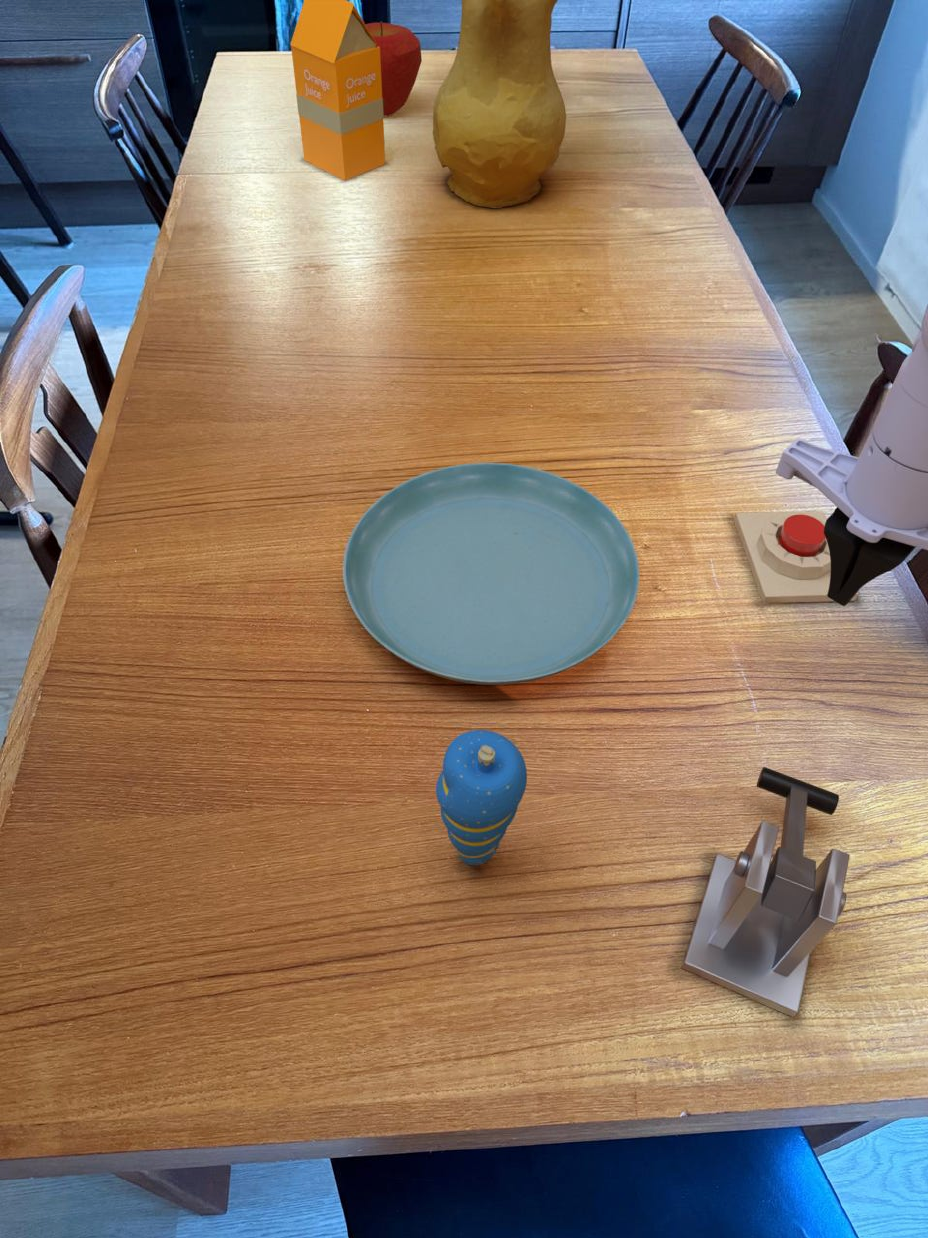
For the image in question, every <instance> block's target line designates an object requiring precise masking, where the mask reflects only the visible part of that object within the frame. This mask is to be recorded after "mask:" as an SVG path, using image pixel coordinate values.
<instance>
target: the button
mask: <svg viewBox="0 0 928 1238" xmlns="http://www.w3.org/2000/svg"><path fill="white" fill-rule="evenodd" d="M824 527H825V526H824V525H823V524H822V523H821V522H820V521H819V520H817V519H816V518H814V517H811V516H808V515H802V514H798V515H793V516H790V517H788V518H787V519H786V520H785V522H784V524H783V526H782V529H781V531H780V534H779V543H780V545H781V546H782V547H783V548H784V549H785V550H786V551H787V552H789V553H792V554H794V555H797V556H800V557H810V556H813V555H816V554H817V553H818V552H819V551H820V549H821V547H822V545H823V543H824V541H825V539H826V537H825V535H824Z"/></svg>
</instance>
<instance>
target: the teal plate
mask: <svg viewBox="0 0 928 1238" xmlns="http://www.w3.org/2000/svg"><path fill="white" fill-rule="evenodd" d="M347 540H348V541H347V543H346V546H345V550H344V553H343V560H342V561H343V562H342V579H343V586H344V590H345V594H346V596H347V597H346V598H347V599H348V602H349V605H350V607H351V609H352V611H353V613H354V614H355V616H356V618H357V619H358V621H359V622H360V623H361V625H362V627H364V630H366V631H367V632H368V633H369V634H370V635H371V637H372V638H373V639H374V640H375V641H377V642H378V644H380V645H381V646H382V647H383V648H384V649H386V650H387V651H388V652H389V653H391V654H392V655H394V656H395V657H396V658H398V659H399V660H401V661H403V662H405V663H407V664H408V665H409V666H413V667H414V668H416V669H419V670H420V671H423V672H425V673H428V674H431V675H433V676H436V677H439V678H443V679H446V680H451V681H454V682H458V683H459V682H460V683H466V684H472V685H481V686H483V685H484V686H500V685H501V686H503V685H515V684H516V685H517V684H525V683H530V682H534V681H537V680H538V681H539V680H544V679H546V678H549V677H552V676H555V675H558V674H560V673H563V672H565V671H567V670H570V669H571V668H572V669H573V667H577V665H579V664H582V663H583V662H585V661H586V660H588V659H589V658H591V657H592V656H593V655H596V654H597V653H599V651H600V650H601V649H603V648H604V647H605V646H606V645H607V644H608V643H609V642H611V640H612V639H613V638H614V637H615V636H616V635H617V634H618V633H619V632H620V631H621V630H622V627H623V626H624V624H626V622H627V620H628V618H629V616H630V615H631V613H632V611H633V609H634V606H635V604H636V600H637V598H638V593H639V586H640V565H639V559H638V558H639V557H638V554H637V551H636V548H635V544H634V542H633V540H632V538H631V536H630V534H629V532H628V531H627V529H626V527H625V526H624V524H623V523H622V521H621V520H620V519H619V518H618V516H617V515H616V514H615V513H614V511H613V510H612V509H611V508H610V507H609V506H608V505H607V504H606V503H604V502H603V501H602V500H601V499H599V497H597V496H595V495H594V494H593V493H591V492H590V491H589V490H586V489H585V488H584V487H581V486H580V485H578V484H577V483H574V482H572V481H570V480H569V479H566V478H564V477H562V476H560V475H557V474H554V473H551V472H548V471H546V470H542V469H539V468H534V467H531V466H530V467H529V466H525V465H519V464H513V463H505V462H504V463H503V462H473V463H464V464H456V465H450V466H445V467H441V468H437V469H434V470H430V471H427V472H424V473H421V474H419V475H417V476H414V477H412V478H410V479H408V480H405V481H404V482H401V483H400V484H398V485H397V486H395V487H393V488H391V490H389V491H388V492H387V491H386V493H385V494H383V495H381V497H379V498H378V499H377V500H376V501H375V502H373V503H372V505H370V507H369V508H368V509H367V510H366V511H365V512H364V513H363V514H362V516H361V517H360V518H359V520H358V521H357V523H356V524H355V526H354V527H353V529H352V531H351V534H350V535H349V538H348V539H347Z"/></svg>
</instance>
